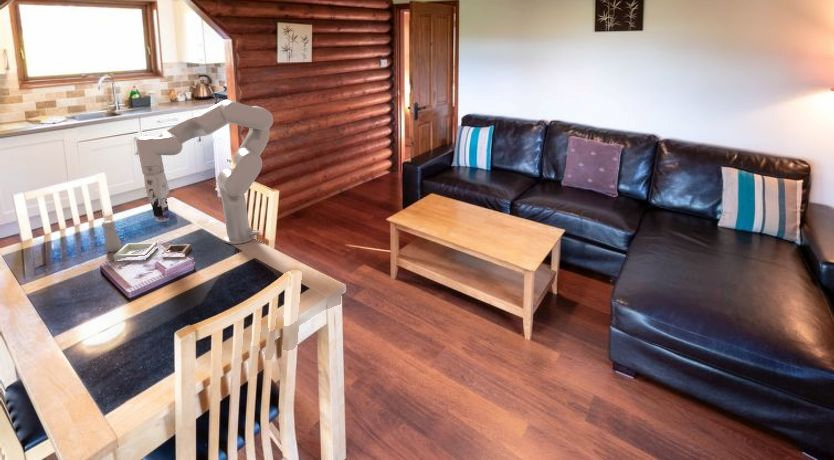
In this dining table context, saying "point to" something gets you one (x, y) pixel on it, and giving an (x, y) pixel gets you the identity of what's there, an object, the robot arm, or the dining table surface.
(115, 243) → the salt shaker
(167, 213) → the pill bottle
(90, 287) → the dining table surface
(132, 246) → the tray
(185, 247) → the beige square dish
